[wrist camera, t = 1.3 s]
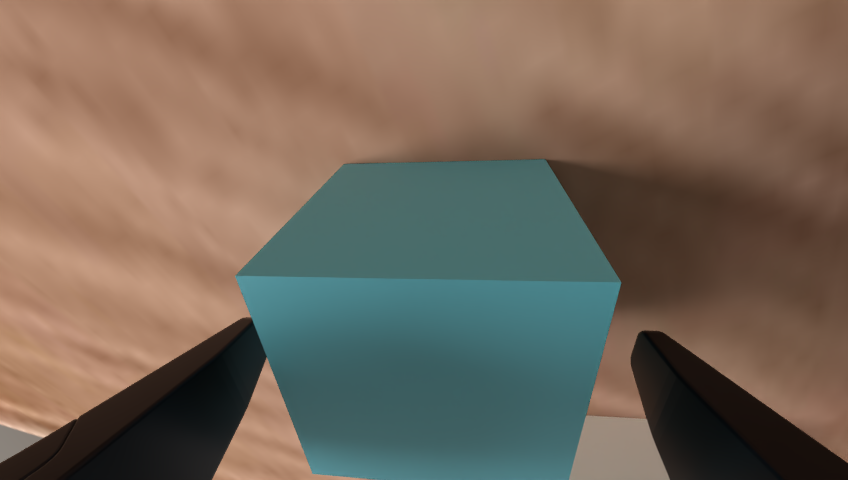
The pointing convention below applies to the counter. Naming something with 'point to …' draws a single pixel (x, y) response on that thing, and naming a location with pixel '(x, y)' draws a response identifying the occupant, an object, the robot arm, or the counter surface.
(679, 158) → the counter surface
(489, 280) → the teal cube
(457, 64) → the counter surface
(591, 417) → the off-white block
